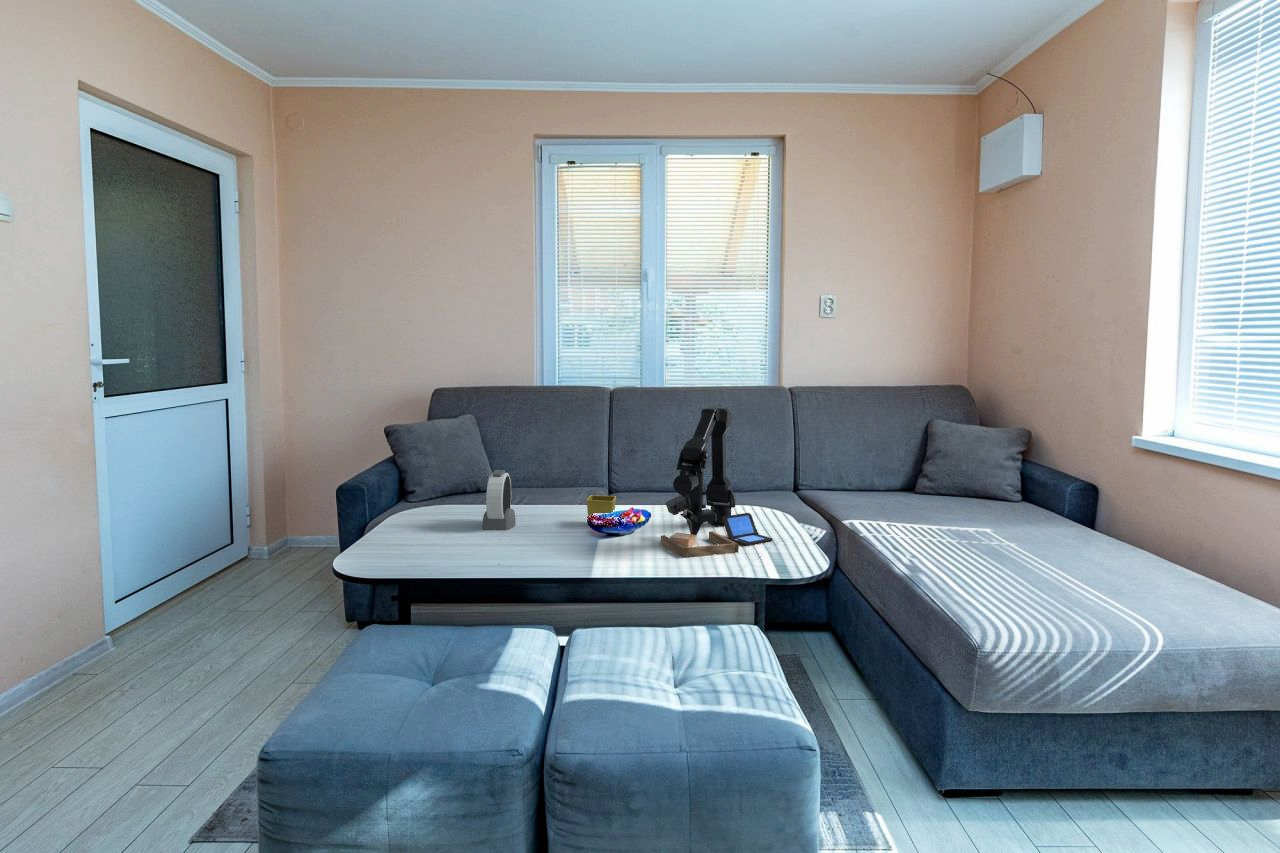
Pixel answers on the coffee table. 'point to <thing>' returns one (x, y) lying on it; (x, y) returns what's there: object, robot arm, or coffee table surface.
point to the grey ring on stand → (498, 503)
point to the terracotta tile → (684, 539)
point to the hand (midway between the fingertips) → (693, 538)
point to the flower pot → (600, 504)
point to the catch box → (722, 548)
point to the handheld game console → (743, 530)
